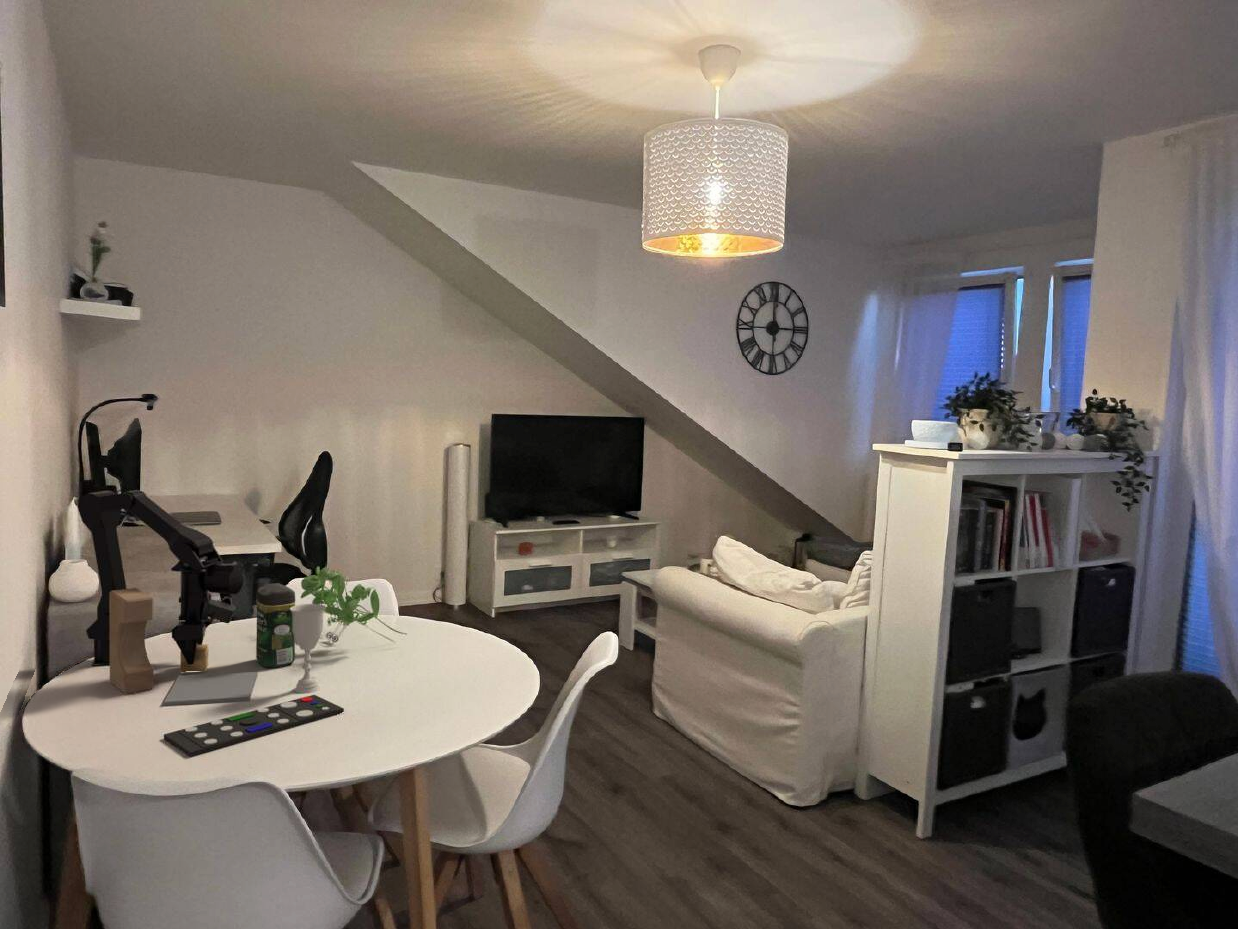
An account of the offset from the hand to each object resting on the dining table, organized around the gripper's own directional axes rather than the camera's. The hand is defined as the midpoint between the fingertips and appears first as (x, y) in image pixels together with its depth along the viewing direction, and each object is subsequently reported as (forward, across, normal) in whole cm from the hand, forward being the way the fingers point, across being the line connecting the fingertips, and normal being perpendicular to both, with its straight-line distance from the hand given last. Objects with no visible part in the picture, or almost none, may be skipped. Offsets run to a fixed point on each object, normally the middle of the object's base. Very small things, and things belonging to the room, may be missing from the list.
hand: (194, 658), depth 194 cm
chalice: (+3, -18, -25) cm, 31 cm away
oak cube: (+3, 0, 0) cm, 3 cm away
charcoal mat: (+3, -15, -6) cm, 16 cm away
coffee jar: (+3, +2, -17) cm, 17 cm away
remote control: (+3, -37, -17) cm, 41 cm away
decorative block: (+3, -9, +11) cm, 14 cm away
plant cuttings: (+3, +18, -34) cm, 39 cm away
